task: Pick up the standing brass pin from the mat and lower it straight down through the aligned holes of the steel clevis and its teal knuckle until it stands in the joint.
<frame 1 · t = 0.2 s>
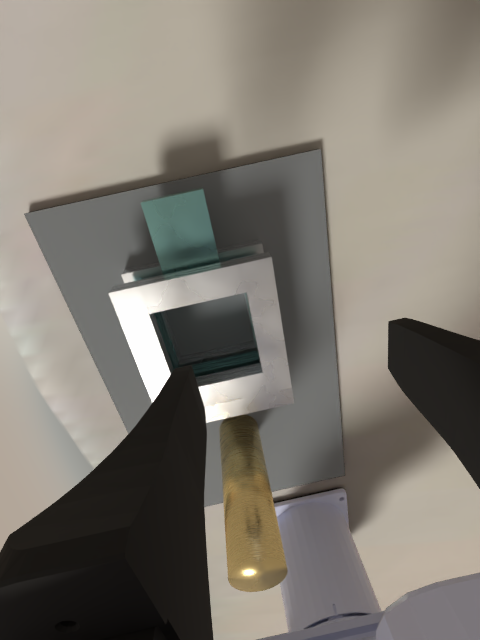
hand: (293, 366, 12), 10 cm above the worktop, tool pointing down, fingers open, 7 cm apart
mat: (224, 373, 24), on the worktop
clevis: (208, 314, 21), resting on mat
pin: (238, 429, 26), resting on mat
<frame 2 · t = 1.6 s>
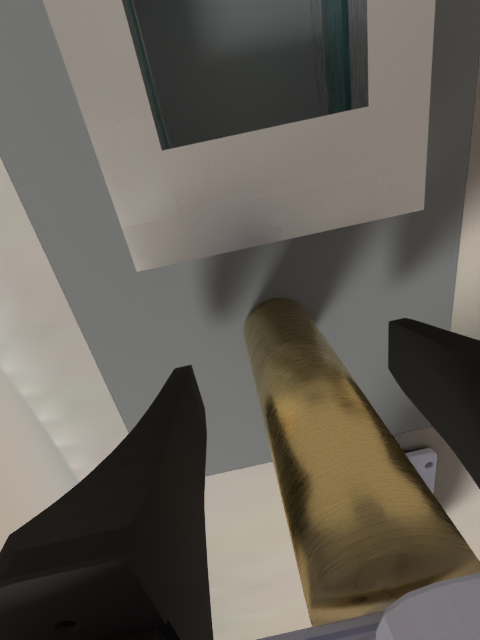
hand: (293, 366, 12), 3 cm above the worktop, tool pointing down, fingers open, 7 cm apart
mat: (256, 211, 13), on the worktop
clevis: (231, 46, 10), resting on mat
pin: (277, 329, 15), point 1 cm above the worktop, touching mat
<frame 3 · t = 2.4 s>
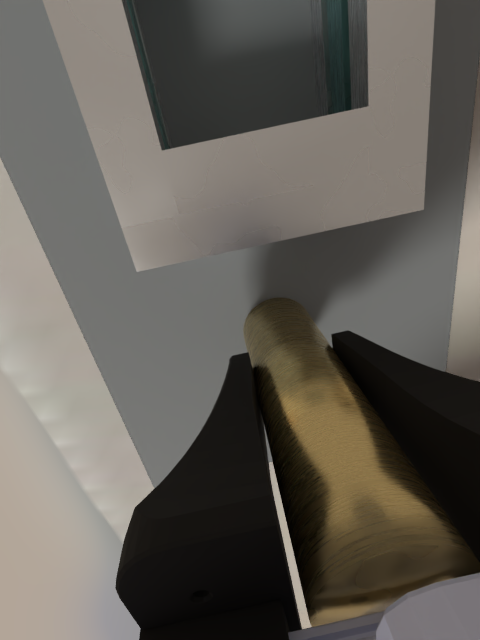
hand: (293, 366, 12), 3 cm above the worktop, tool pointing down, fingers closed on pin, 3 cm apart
mat: (256, 211, 13), on the worktop
clevis: (231, 46, 10), resting on mat
pin: (277, 329, 15), resting on mat, touching gripper
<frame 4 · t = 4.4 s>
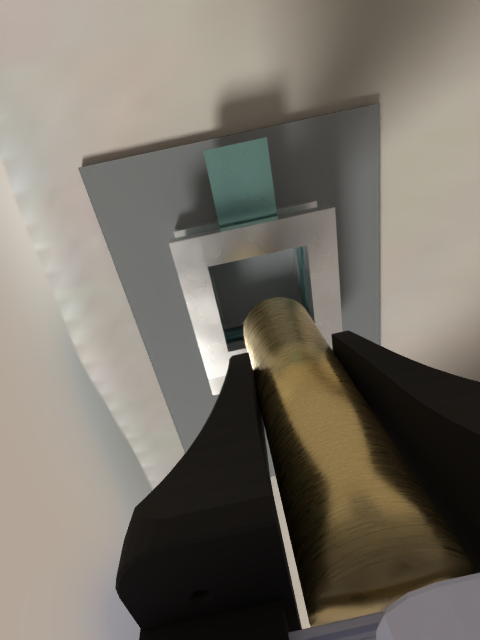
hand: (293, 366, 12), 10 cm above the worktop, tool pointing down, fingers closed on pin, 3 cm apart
mat: (265, 342, 23), on the worktop
clevis: (255, 278, 21), resting on mat
pin: (276, 328, 15), point 7 cm above the worktop, touching gripper
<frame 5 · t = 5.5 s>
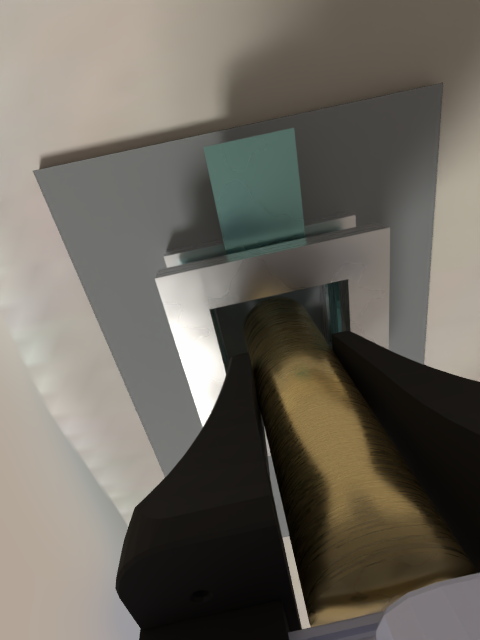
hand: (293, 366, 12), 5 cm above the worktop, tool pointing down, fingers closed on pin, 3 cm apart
mat: (281, 387, 19), on the worktop
clevis: (269, 312, 16), resting on mat
pin: (276, 328, 15), point 2 cm above the worktop, touching gripper
when the fingers open (5 cm above the worktop, at t = 6.3 s): pin drops 1 cm, resting on mat.
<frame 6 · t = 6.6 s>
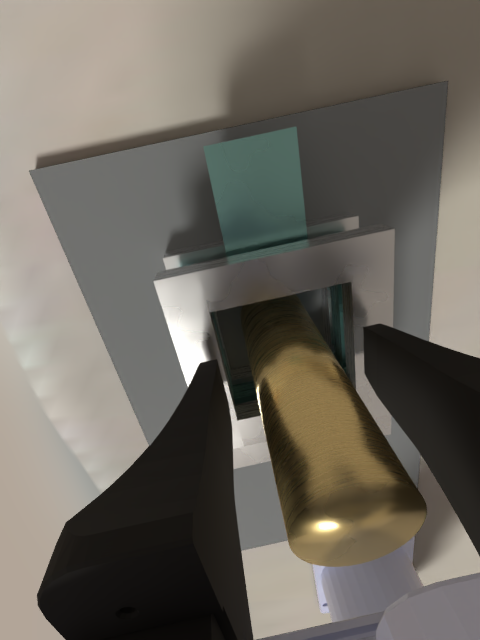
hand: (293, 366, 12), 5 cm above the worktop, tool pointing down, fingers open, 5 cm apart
mat: (282, 390, 19), on the worktop
clevis: (270, 315, 16), resting on mat
pin: (271, 315, 16), point 1 cm above the worktop, touching mat
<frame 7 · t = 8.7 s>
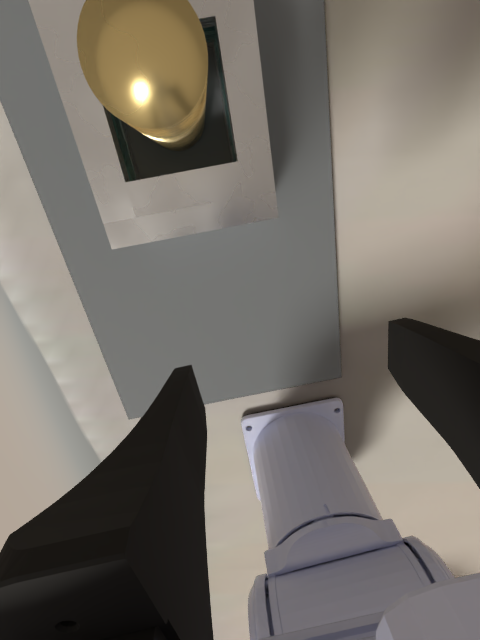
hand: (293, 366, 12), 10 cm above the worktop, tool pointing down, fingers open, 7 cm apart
mat: (196, 217, 19), on the worktop
clevis: (174, 118, 17), resting on mat
pin: (175, 118, 17), point 1 cm above the worktop, touching mat
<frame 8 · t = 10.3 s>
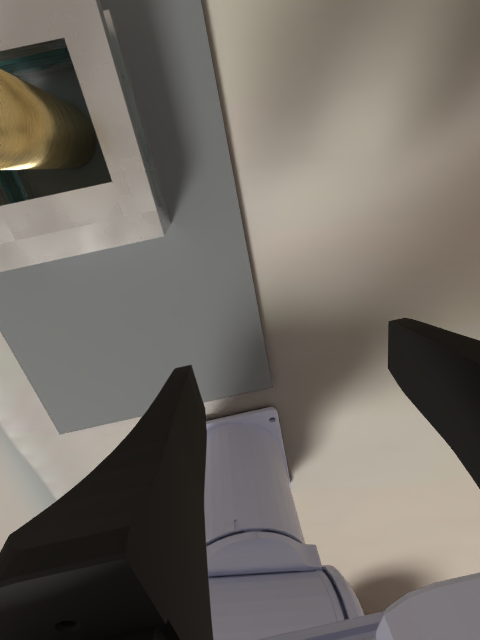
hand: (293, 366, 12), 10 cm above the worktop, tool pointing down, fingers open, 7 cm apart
mat: (103, 233, 19), on the worktop
clevis: (64, 136, 17), resting on mat
pin: (64, 136, 17), point 1 cm above the worktop, touching mat
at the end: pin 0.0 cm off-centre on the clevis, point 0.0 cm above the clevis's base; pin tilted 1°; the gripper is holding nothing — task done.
